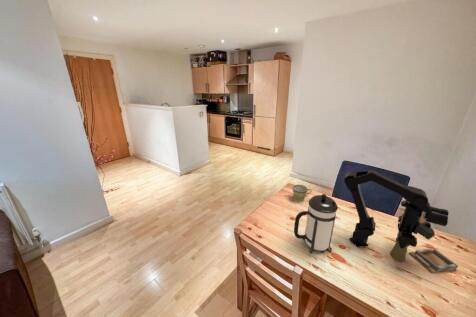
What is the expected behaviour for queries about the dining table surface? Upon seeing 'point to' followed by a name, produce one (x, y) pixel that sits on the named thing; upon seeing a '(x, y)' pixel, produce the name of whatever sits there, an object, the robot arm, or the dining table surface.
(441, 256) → the frame
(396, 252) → the olive tall rounded piece
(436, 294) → the dining table surface
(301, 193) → the ceramic cup
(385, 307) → the dining table surface
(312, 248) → the coffee press
